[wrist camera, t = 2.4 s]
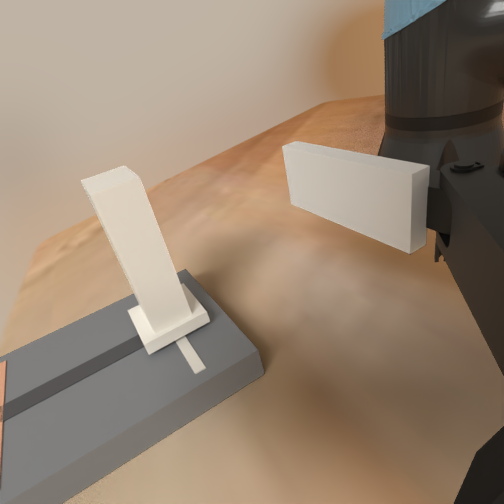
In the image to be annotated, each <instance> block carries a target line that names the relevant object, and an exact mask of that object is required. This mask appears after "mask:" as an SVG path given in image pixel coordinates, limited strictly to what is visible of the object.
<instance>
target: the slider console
mask: <svg viewBox="0 0 504 504" xmlns="http://www.w3.org/2000/svg"><path fill="white" fill-rule="evenodd" d="M177 276H178V279H179V281H180V284H182V283H184V284H185V286H186V287H187V288H188V289H189V291H190V292H191V293H192V294H193V295H194V297H195V298H196V299H197V300H198V302H199V303H200V304H201V305H202V306H203V308H204V309H205V310H206V311H207V314H208V316H209V319H210V322H208V323H206V324H205V325H203V326H201V327H199V328H197V329H195V330H194V331H192V332H190V333H188V334H186V335H184V336H183V337H181V338H179V339H177V340H175V341H173V342H172V343H170V344H168V345H166V346H164V347H162V348H161V349H159V350H157V351H155V352H153V353H151V354H150V355H149V354H148V352H147V350H146V348H145V346H144V344H143V342H142V340H141V338H140V336H139V334H138V332H137V330H136V327H135V325H134V323H133V321H132V319H131V317H130V315H129V313H128V311H127V310H129V309H131V308H133V307H136V306H138V305H139V303H138V301H137V299H136V297H135V295H134V294H132V295H130V296H128V297H126V298H124V299H121V300H119V301H117V302H115V303H113V304H111V305H109V306H107V307H105V308H103V309H100V310H98V311H96V312H94V313H92V314H90V315H88V316H86V317H84V318H82V319H79V320H77V321H75V322H73V323H71V324H69V325H67V326H65V327H63V328H61V329H58V330H56V331H54V332H52V333H50V334H48V335H46V336H44V337H42V338H40V339H37V340H35V341H33V342H31V343H29V344H27V345H25V346H23V347H21V348H19V349H17V350H14V351H12V352H10V353H8V354H6V355H4V356H2V357H0V504H62V503H64V502H65V501H67V500H68V499H70V498H71V497H73V496H75V495H76V494H78V493H79V492H81V491H82V490H84V489H86V488H87V487H89V486H90V485H92V484H93V483H95V482H96V481H98V480H100V479H101V478H103V477H104V476H106V475H107V474H109V473H111V472H112V471H114V470H115V469H117V468H118V467H120V466H121V465H123V464H125V463H126V462H128V461H129V460H131V459H132V458H134V457H136V456H137V455H139V454H140V453H142V452H143V451H145V450H146V449H148V448H150V447H151V446H153V445H154V444H156V443H157V442H159V441H161V440H162V439H164V438H165V437H167V436H168V435H170V434H171V433H173V432H175V431H176V430H178V429H179V428H181V427H182V426H184V425H186V424H187V423H189V422H190V421H192V420H193V419H195V418H196V417H198V416H200V415H201V414H203V413H204V412H206V411H207V410H209V409H211V408H212V407H214V406H215V405H217V404H218V403H220V402H221V401H223V400H225V399H226V398H228V397H229V396H231V395H232V394H234V393H236V392H237V391H239V390H240V389H242V388H243V387H245V386H247V385H248V384H250V383H251V382H253V381H254V380H256V379H257V378H259V377H261V376H262V375H264V374H265V373H264V369H263V365H262V362H261V358H260V355H259V351H258V349H257V348H256V347H255V346H254V344H253V343H252V342H251V341H250V340H249V339H248V338H247V337H246V336H245V334H244V333H243V332H242V331H241V330H240V329H239V328H238V327H237V326H236V324H235V323H234V322H233V321H232V320H231V319H230V318H229V317H228V316H227V314H226V313H225V312H224V311H223V310H222V309H221V308H220V307H219V306H218V304H217V303H216V302H215V301H214V300H213V299H212V298H211V297H210V295H209V294H208V293H207V292H206V291H205V290H204V289H203V288H202V287H201V285H200V284H199V283H198V282H197V281H196V280H195V279H194V278H193V277H192V275H191V274H190V273H189V272H188V271H187V270H186V269H184V270H182V271H180V272H178V273H177Z"/></svg>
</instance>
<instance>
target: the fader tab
mask: <svg viewBox="0 0 504 504" xmlns="http://www.w3.org/2000/svg"><path fill="white" fill-rule="evenodd" d="M81 183H82V185H83V187H84V189H85V191H86V193H87V195H88V198H89V199H90V202H91V204H92V206H93V208H94V210H95V212H96V214H97V217H98V219H99V221H100V223H101V225H102V227H103V229H104V231H105V233H106V236H107V238H108V240H109V242H110V244H111V246H112V248H113V250H114V252H115V254H116V257H117V259H118V261H119V263H120V265H121V267H122V269H123V271H124V273H125V276H126V278H127V280H128V282H129V284H130V286H131V288H132V290H133V292H134V295H135V297H136V299H137V301H138V303H139V305H138V306H136V307H133V308H131V309H129V310H127V311H128V313H129V315H130V317H131V319H132V321H133V323H134V325H135V327H136V330H137V332H138V334H139V336H140V338H141V340H142V342H143V344H144V346H145V348H146V350H147V352H148V354H149V355H150V354H151V353H153V352H155V351H157V350H159V349H161V348H162V347H164V346H166V345H168V344H170V343H172V342H173V341H175V340H177V339H179V338H181V337H183V336H184V335H186V334H188V333H190V332H192V331H194V330H195V329H197V328H199V327H201V326H203V325H205V324H206V323H208V322H210V319H209V316H208V314H207V311H206V310H205V309H204V308H203V306H202V305H201V304H200V303H199V302H198V300H197V299H196V298H195V297H194V295H193V294H192V293H191V292H190V291H189V289H188V288H187V287H186V286H185V284H184V283H182V284H180V281H179V279H178V276H177V273H176V271H175V268H174V266H173V263H172V260H171V258H170V255H169V252H168V250H167V247H166V245H165V242H164V239H163V237H162V234H161V232H160V229H159V226H158V224H157V221H156V219H155V216H154V213H153V211H152V208H151V206H150V203H149V200H148V198H147V195H146V192H145V190H144V187H143V185H142V182H141V180H140V177H139V176H138V175H136V174H135V173H134V172H132V171H131V170H130V169H129V168H127V167H126V166H121V167H119V168H115V169H113V170H110V171H107V172H104V173H101V174H98V175H95V176H92V177H90V178H87V179H84V180H81Z"/></svg>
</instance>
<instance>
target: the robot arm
mask: <svg viewBox="0 0 504 504" xmlns="http://www.w3.org/2000/svg"><path fill="white" fill-rule="evenodd" d="M384 8H385V9H384V32H383V34H382V39H384V47H385V132H384V136H383V139H382V142H381V145H380V149H379V152H378V156H375V155H369V154H364V153H359V152H353V151H348V150H342V149H337V148H332V147H326V146H321V145H315V144H310V143H304V142H299V141H295V142H292V143H290V144H287V145H284V146H282V148H283V155H284V161H285V167H286V174H287V180H288V186H289V193H290V199H291V204H292V205H295V206H297V207H299V208H302V209H304V210H307V211H309V212H311V213H314V214H316V215H318V216H321V217H323V218H325V219H328V220H330V221H333V222H335V223H337V224H340V225H342V226H344V227H347V228H349V229H352V230H354V231H356V232H359V233H361V234H363V235H366V236H368V237H370V238H373V239H375V240H378V241H380V242H382V243H385V244H387V245H389V246H392V247H394V248H396V249H399V250H401V251H404V252H406V253H408V254H411V253H413V252H415V251H417V250H418V249H420V248H422V247H423V246H425V245H426V233H427V228H429V229H432V230H435V231H436V243H435V262H438V261H439V257H440V256H441V255H443V257H444V261H446V263H447V265H448V267H449V269H450V271H451V273H452V275H453V277H454V279H455V281H456V283H457V285H458V287H459V289H460V291H461V293H462V295H463V297H464V299H465V301H466V303H467V305H468V307H469V309H470V310H471V312H472V314H473V316H474V318H475V320H476V322H477V324H478V326H479V328H480V330H481V332H482V334H483V336H484V338H485V340H486V342H487V344H488V346H489V348H490V350H491V352H492V354H493V356H494V358H495V360H496V362H497V364H498V366H499V368H500V370H501V372H502V374H503V376H504V130H503V126H502V119H501V118H502V110H503V102H504V0H385V7H384ZM454 504H504V426H503V427H502V428H501V429H500V430H499V431H498V432H497V433H496V434H495V435H494V436H493V437H492V438H491V439H490V440H489V441H488V442H487V443H486V444H485V445H483V446H482V447H481V448H480V449H479V450H478V451H477V452H476V454H475V457H474V459H473V461H472V463H471V466H470V468H469V470H468V472H467V475H466V477H465V479H464V481H463V484H462V486H461V488H460V490H459V493H458V495H457V497H456V499H455V502H454Z"/></svg>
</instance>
